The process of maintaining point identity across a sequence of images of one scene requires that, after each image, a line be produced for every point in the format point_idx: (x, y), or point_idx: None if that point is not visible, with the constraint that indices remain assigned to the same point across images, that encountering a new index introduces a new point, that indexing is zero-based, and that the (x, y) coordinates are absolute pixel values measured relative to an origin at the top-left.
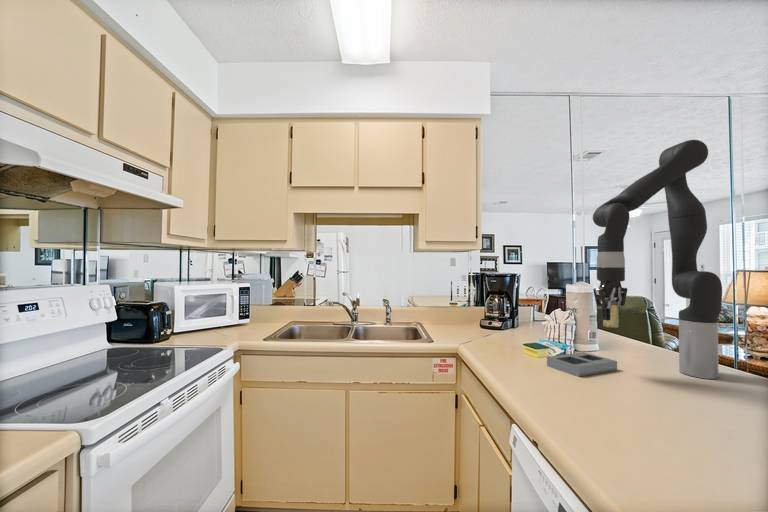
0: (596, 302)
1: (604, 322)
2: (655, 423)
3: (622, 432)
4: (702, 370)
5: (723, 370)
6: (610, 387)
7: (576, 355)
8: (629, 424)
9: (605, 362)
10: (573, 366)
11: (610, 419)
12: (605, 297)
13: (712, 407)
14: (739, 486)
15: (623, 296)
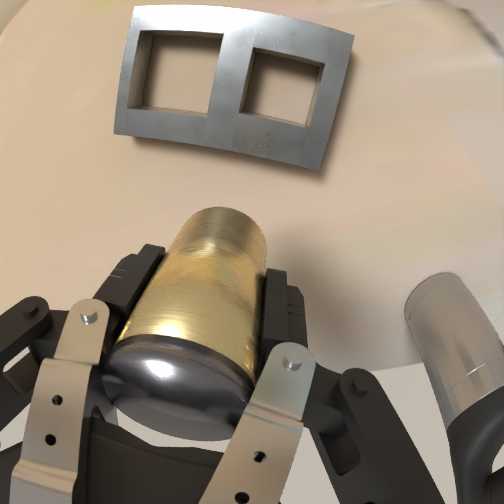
0: (4, 317)
1: (176, 237)
2: (66, 305)
3: (20, 286)
4: (410, 326)
5: (489, 315)
6: (131, 213)
7: (265, 38)
8: (37, 286)
9: (256, 152)
10: (117, 113)
11: (27, 268)
12: (92, 422)
13: None
14: None
15: (337, 492)
